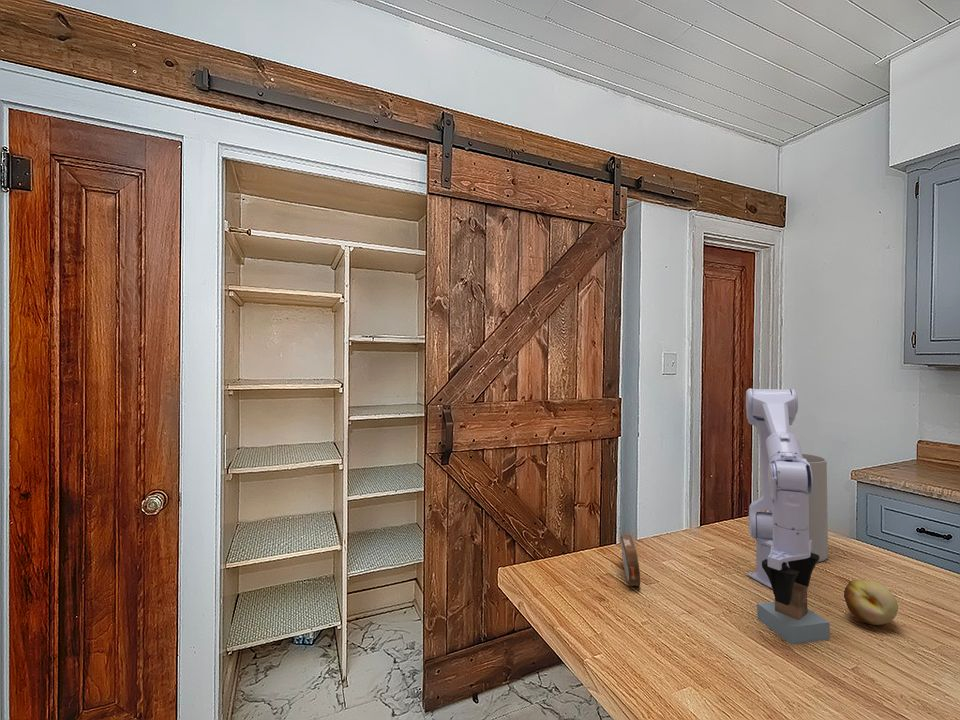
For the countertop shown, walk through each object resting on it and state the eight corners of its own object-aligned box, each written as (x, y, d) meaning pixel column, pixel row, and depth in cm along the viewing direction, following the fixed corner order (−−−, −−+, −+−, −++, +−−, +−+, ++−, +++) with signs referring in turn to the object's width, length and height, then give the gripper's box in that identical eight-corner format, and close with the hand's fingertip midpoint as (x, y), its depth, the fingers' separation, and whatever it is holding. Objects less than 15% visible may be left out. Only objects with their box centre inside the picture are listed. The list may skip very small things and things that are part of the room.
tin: (641, 593, 100) (641, 555, 100) (626, 592, 100) (626, 554, 100) (632, 563, 115) (632, 529, 114) (619, 562, 115) (619, 529, 115)
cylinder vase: (777, 539, 128) (776, 450, 127) (832, 552, 118) (831, 457, 118) (763, 552, 119) (761, 457, 119) (822, 568, 110) (820, 465, 110)
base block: (793, 616, 91) (792, 599, 91) (829, 641, 83) (829, 622, 83) (757, 621, 89) (757, 603, 89) (791, 646, 81) (790, 627, 81)
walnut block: (783, 603, 89) (783, 578, 89) (807, 612, 86) (807, 586, 86) (774, 610, 87) (774, 584, 87) (799, 620, 83) (798, 593, 83)
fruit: (835, 617, 89) (835, 577, 89) (860, 608, 93) (860, 568, 93) (882, 639, 82) (882, 595, 82) (907, 628, 86) (906, 585, 86)
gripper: (783, 511, 93) (784, 576, 93) (749, 527, 85) (750, 599, 85) (824, 520, 88) (825, 591, 88) (792, 539, 79) (793, 616, 79)
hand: (791, 596), depth 86 cm, fingers open, 7 cm apart
